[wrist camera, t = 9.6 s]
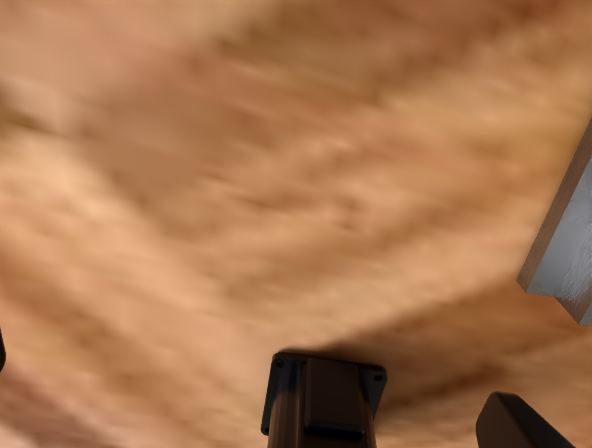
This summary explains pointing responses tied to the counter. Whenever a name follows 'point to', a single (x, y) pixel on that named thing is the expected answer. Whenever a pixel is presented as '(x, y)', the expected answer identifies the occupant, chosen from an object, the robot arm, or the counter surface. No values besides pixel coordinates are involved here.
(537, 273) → the track
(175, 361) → the counter surface
